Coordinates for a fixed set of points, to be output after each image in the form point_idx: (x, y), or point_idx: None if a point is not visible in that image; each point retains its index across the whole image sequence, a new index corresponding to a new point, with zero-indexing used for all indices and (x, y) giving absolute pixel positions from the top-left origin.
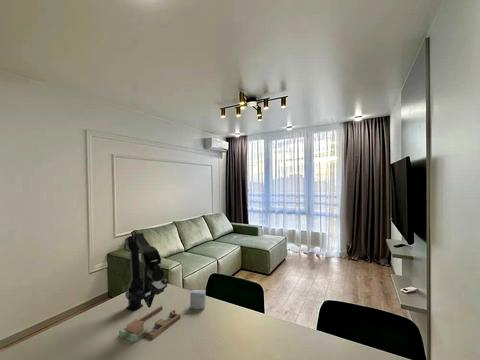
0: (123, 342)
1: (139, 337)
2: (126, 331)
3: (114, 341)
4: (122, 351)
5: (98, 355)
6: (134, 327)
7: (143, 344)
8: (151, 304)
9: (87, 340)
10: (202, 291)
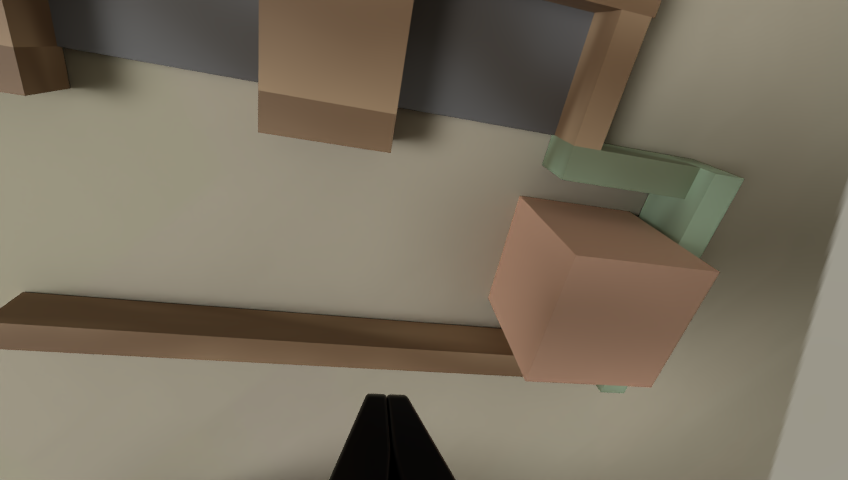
0: None
1: (659, 156)
2: None
3: None
4: (801, 185)
5: (812, 317)
6: (718, 273)
7: (723, 43)
8: (354, 433)
9: (649, 473)
10: None
